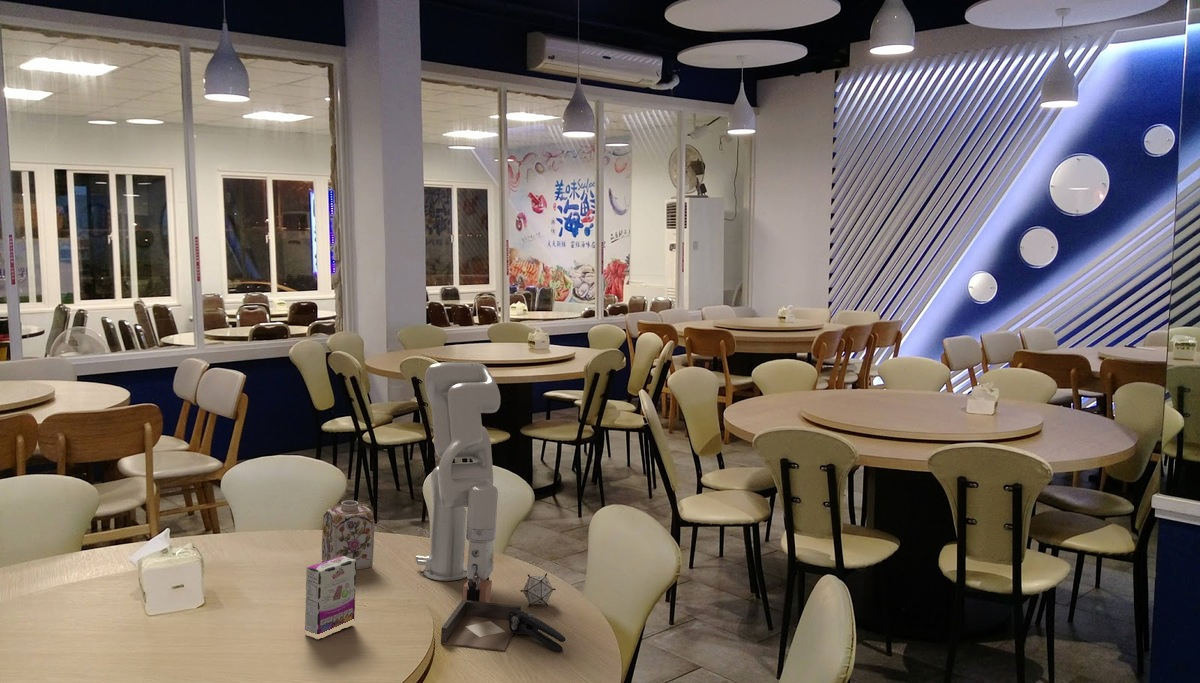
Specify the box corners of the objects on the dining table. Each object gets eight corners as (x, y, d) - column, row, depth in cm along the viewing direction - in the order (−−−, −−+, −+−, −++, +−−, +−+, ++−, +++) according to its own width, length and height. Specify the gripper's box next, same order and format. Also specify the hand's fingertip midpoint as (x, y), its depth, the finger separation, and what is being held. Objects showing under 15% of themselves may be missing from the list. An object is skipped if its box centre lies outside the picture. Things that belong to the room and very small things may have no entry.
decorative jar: (360, 555, 263) (363, 495, 261) (373, 568, 253) (376, 505, 251) (319, 560, 256) (322, 499, 255) (331, 573, 246) (334, 509, 245)
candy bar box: (340, 620, 215) (343, 554, 214) (354, 626, 213) (358, 559, 211) (302, 635, 206) (305, 566, 205) (317, 641, 203) (320, 571, 202)
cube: (462, 608, 228) (463, 586, 228) (468, 600, 234) (469, 578, 234) (484, 611, 228) (486, 588, 227) (490, 602, 234) (491, 580, 233)
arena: (440, 643, 206) (441, 627, 206) (461, 614, 224) (462, 599, 224) (504, 651, 205) (505, 635, 204) (520, 621, 223) (521, 606, 222)
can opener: (499, 630, 215) (501, 608, 215) (520, 623, 220) (523, 601, 220) (551, 657, 203) (554, 633, 203) (572, 649, 209) (575, 626, 208)
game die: (540, 621, 233) (548, 600, 227) (512, 605, 234) (519, 584, 228) (555, 595, 240) (563, 574, 233) (527, 580, 241) (535, 559, 235)
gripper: (487, 543, 220) (483, 611, 221) (502, 525, 237) (499, 588, 238) (457, 541, 221) (454, 608, 222) (475, 522, 238) (472, 585, 239)
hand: (477, 597), depth 230 cm, fingers open, 9 cm apart
